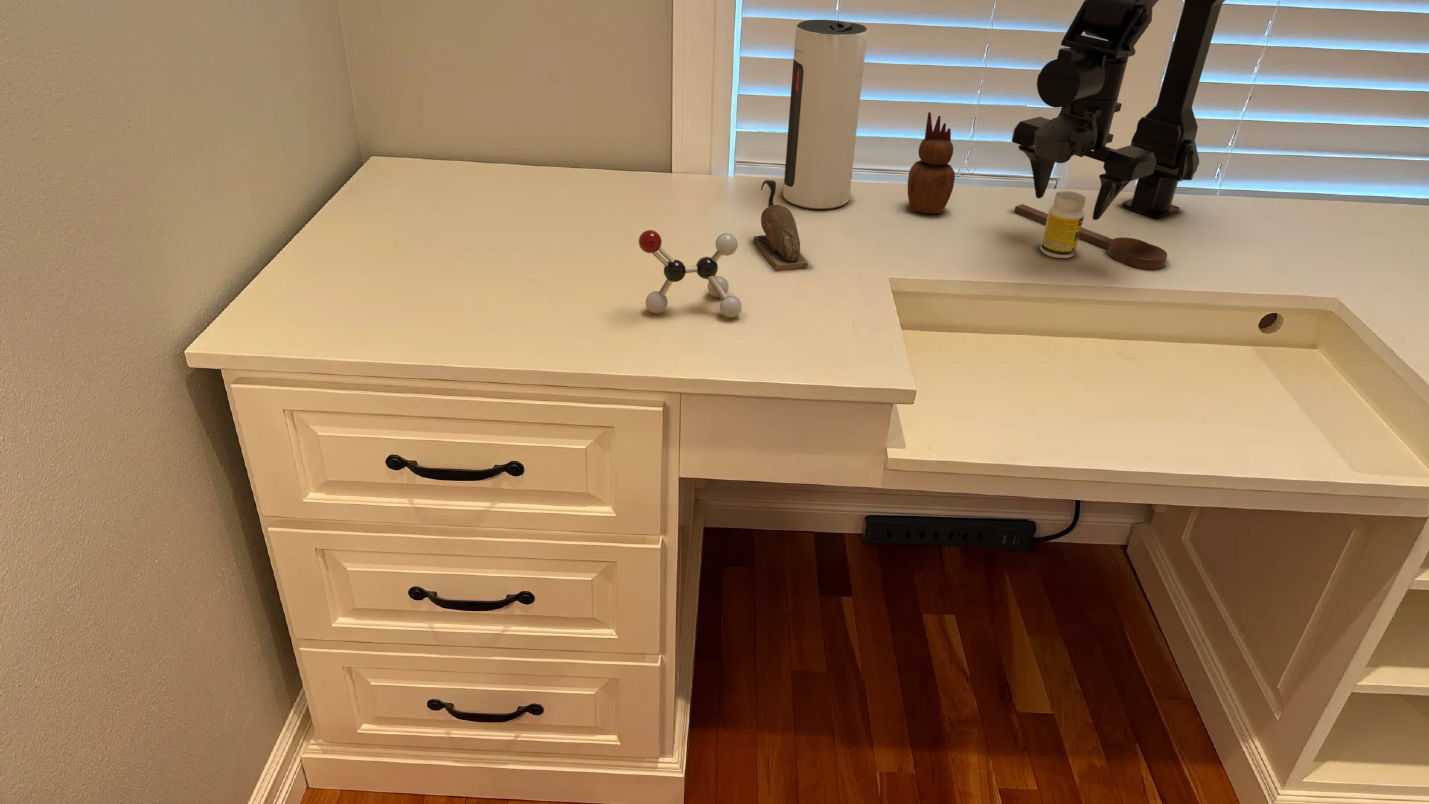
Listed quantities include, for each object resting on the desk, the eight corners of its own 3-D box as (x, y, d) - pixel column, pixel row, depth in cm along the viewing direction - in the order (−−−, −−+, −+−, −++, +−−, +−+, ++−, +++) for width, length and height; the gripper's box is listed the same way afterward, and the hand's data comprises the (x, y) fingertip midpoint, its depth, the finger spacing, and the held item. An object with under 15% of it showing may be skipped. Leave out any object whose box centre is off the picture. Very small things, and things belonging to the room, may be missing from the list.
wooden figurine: (900, 212, 150) (914, 114, 142) (908, 200, 154) (923, 104, 146) (944, 220, 148) (962, 121, 140) (951, 207, 152) (969, 110, 144)
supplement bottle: (1075, 261, 137) (1090, 203, 133) (1041, 257, 138) (1054, 200, 133) (1072, 247, 141) (1086, 191, 137) (1038, 243, 142) (1051, 187, 137)
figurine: (743, 229, 142) (747, 171, 137) (772, 227, 143) (777, 169, 138) (776, 271, 131) (781, 209, 126) (808, 268, 132) (814, 206, 127)
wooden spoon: (1005, 215, 151) (1007, 205, 150) (1029, 207, 154) (1031, 198, 153) (1149, 273, 135) (1152, 263, 134) (1172, 263, 138) (1176, 253, 137)
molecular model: (743, 320, 119) (749, 238, 113) (646, 330, 116) (646, 246, 110) (724, 290, 125) (728, 211, 120) (632, 299, 123) (631, 218, 117)
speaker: (785, 183, 159) (799, 12, 144) (850, 188, 158) (870, 17, 143) (780, 207, 150) (793, 28, 136) (848, 213, 149) (869, 33, 135)
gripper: (997, 85, 129) (975, 198, 138) (1123, 123, 117) (1090, 244, 126) (1049, 74, 135) (1025, 183, 144) (1174, 109, 123) (1139, 226, 131)
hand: (1066, 208), depth 136 cm, fingers open, 9 cm apart
